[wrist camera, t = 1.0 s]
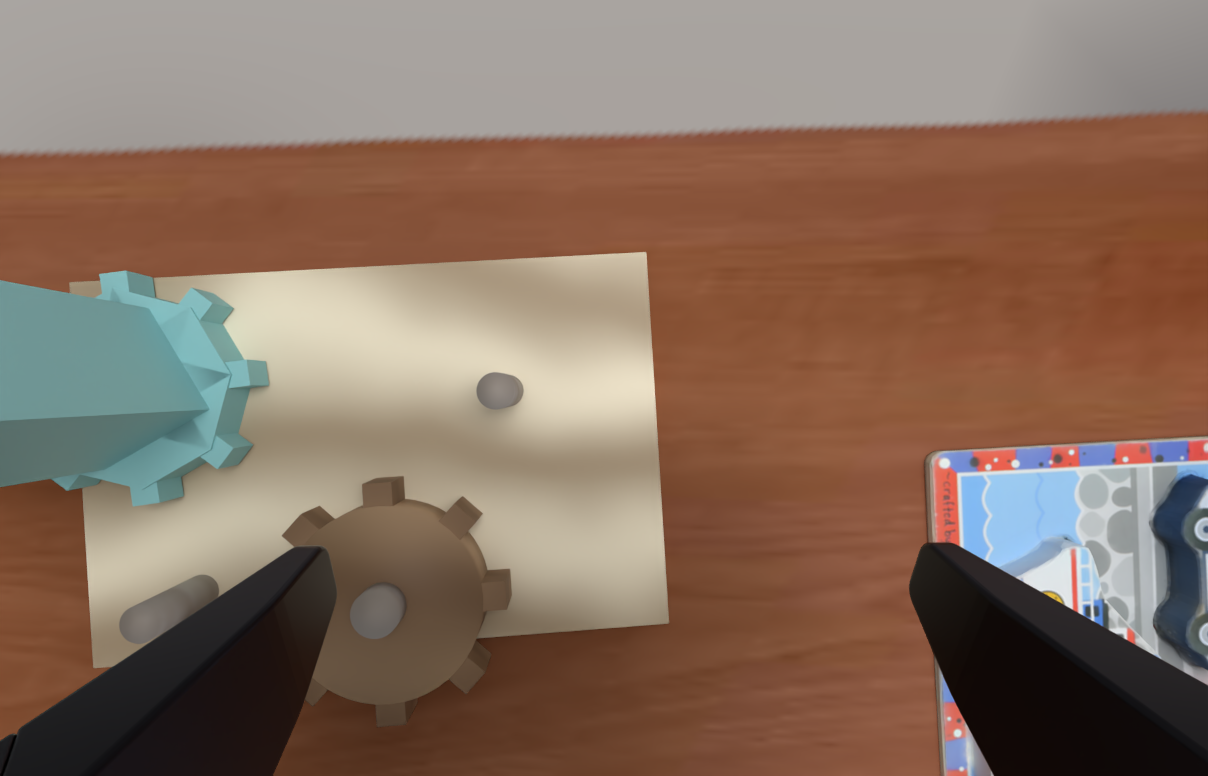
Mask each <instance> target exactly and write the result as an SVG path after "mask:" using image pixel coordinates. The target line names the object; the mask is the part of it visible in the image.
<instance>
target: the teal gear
mask: <svg viewBox="0 0 1208 776" xmlns="http://www.w3.org/2000/svg"><path fill="white" fill-rule="evenodd" d="M99 275H100V282H101V289H102V294H100V295H99V296H97V297H95V298H92V297H86V296H81V295H76V294H70V293H65V292H59V291H54V290H49V289H43V288H38V287H33V286H27V285H22V284H17V283H11V282H6V281H1V280H0V487H4V486H10V485H16V484H22V483H28V482H34V481H40V480H45V479H52V480H53V481H55V482H56V483H57V484H59V485H60V486H61V487H63V488H64V489H66V490H67V491H68V490H73V489H78V488H83V487H88V486H93V485H97V484H98V483H99V482H100V480H105V481H109V482H113V483H117V484H121V485H126V486H130V491H131V498H132V505H133V506H140V505H147V504H154V503H160V502H164V501H168V500H172V499H175V498H179V497H183V496H184V494H183V487H182V480H181V477H182V476H184V475H185V474H187V473H189V472H191V471H192V470H194V469H196V468H198V467H199V466H201V465H203V464H204V463H206V462H208V463H209V464H211V465H212V466H214V467H215V468H216V469H221V468H225V467H230V466H234V465H238V464H239V463H240V462H241V460H242V459H243V458H244V456H245V455H246V454H247V453H248V451H249V450H250V449H251V447H252V446H253V444H252V443H250V442H249V441H247V440H246V439H245V438H243V437H242V436H241V435H239V434H238V433H239V430H240V426H241V422H242V418H243V414H244V411H245V407H246V403H247V399H248V396H249V392H250V388H255V387H262V386H269V381H268V374H267V367H266V361H258V360H247V359H246V360H244V358H243V357H242V355H241V353H240V352H239V350H238V348H237V347H236V345H235V343H234V342H233V340H232V338H231V337H230V335H229V333H228V332H227V330H226V328H225V327H224V325H223V322H224V320H225V319H226V318H227V316H228V315H229V314H230V313H231V311H232V310H233V309H234V308H233V307H231V306H230V305H229V304H227V303H226V302H225V301H223V300H222V299H221V298H219V297H218V296H217V295H215V294H214V293H211V292H207V291H203V290H199V289H195V288H190V290H189V291H188V292H187V294H186V295H185V296H184V297H183V299H182V300H181V301H180V303H175V302H171V301H168V300H164V299H160V298H156V297H155V292H154V285H153V278H152V277H149V276H145V275H141V274H137V273H133V272H129V271H120V272H112V273H105V274H99Z"/></svg>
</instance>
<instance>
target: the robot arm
mask: <svg viewBox="0 0 1208 776" xmlns="http://www.w3.org/2000/svg"><path fill="white" fill-rule="evenodd" d="M909 592H910V597H911V600H912V603H913V605H914V608H915V610H916V612H917V615H918V617H919V620H920V622H921V624H922V627H923V629H924V632H925V634H926V637H927V639H928V641H929V644H930V646H931V649H932V651H933V653H934V656H935V658H936V661H937V663H938V665H939V668H940V670H941V673H942V675H943V678H944V680H945V682H946V684H947V687H948V689H949V691H950V693H951V695H952V697H953V699H954V701H955V703H956V705H957V707H958V709H959V711H960V713H961V715H962V717H963V719H964V721H965V723H966V725H967V726H968V728H969V730H970V732H971V734H972V736H973V738H974V740H975V741H976V743H977V745H978V747H979V749H980V751H981V753H982V755H983V757H984V758H985V760H986V762H987V764H988V766H989V768H990V770H991V772H992V773H993V775H994V776H1208V685H1207V684H1205V683H1203V682H1201V681H1200V680H1198V679H1196V678H1194V677H1192V676H1191V675H1189V674H1187V673H1185V672H1183V671H1182V670H1180V669H1178V668H1176V667H1175V666H1173V665H1171V664H1169V663H1167V662H1166V661H1164V660H1162V659H1160V658H1158V657H1157V656H1155V655H1153V654H1151V653H1150V652H1148V651H1146V650H1144V649H1142V648H1141V647H1139V646H1137V645H1135V644H1133V643H1132V642H1130V641H1128V640H1126V639H1124V638H1123V637H1121V636H1119V635H1117V634H1116V633H1114V632H1112V631H1110V630H1108V629H1107V628H1105V627H1103V626H1101V625H1099V624H1098V623H1096V622H1094V621H1092V620H1091V619H1089V618H1087V617H1085V616H1083V615H1082V614H1080V613H1078V612H1076V611H1074V610H1073V609H1071V608H1069V607H1067V606H1066V605H1064V604H1062V603H1060V602H1058V601H1057V600H1055V599H1053V598H1051V597H1049V596H1048V595H1046V594H1044V593H1042V592H1041V591H1039V590H1037V589H1035V588H1033V587H1032V586H1030V585H1028V584H1026V583H1024V582H1023V581H1021V580H1019V579H1017V578H1016V577H1014V576H1012V575H1010V574H1008V573H1007V572H1005V571H1003V570H1001V569H1000V568H998V567H996V566H994V565H992V564H991V563H989V562H987V561H985V560H983V559H982V558H980V557H978V556H976V555H975V554H973V553H971V552H969V551H967V550H966V549H964V548H962V547H960V546H958V545H957V544H954V543H950V542H929V543H926V544H924V545H923V546H922V547H921V549H920V551H919V554H918V558H917V561H916V564H915V567H914V570H913V573H912V576H911V579H910V584H909ZM336 599H337V586H336V582H335V577H334V573H333V569H332V564H331V560H330V556H329V552H328V550H327V549H326V548H325V547H324V546H321V545H301V546H296V547H293V548H292V549H290V550H288V551H287V552H285V553H284V554H282V555H281V556H279V557H278V558H276V559H275V560H273V561H272V562H270V563H269V564H267V565H266V566H264V567H263V568H261V569H260V570H258V571H257V572H255V573H254V574H252V575H251V576H249V577H248V578H246V579H245V580H243V581H242V582H240V583H239V584H237V585H236V586H234V587H232V588H231V589H229V590H228V591H226V592H225V593H223V594H222V595H220V596H219V597H217V598H216V599H214V600H213V601H211V602H210V603H208V604H207V605H205V606H204V607H202V608H201V609H199V610H198V611H196V612H195V613H193V614H192V615H190V616H189V617H187V618H186V619H184V620H183V621H181V622H180V623H178V624H177V625H175V626H174V627H172V628H170V629H169V630H167V631H166V632H164V633H163V634H161V635H160V636H158V637H157V638H155V639H154V640H152V641H151V642H149V643H148V644H146V645H145V646H143V647H142V648H140V649H139V650H137V651H136V652H134V653H133V654H131V655H130V656H128V657H127V658H125V659H124V660H122V661H121V662H119V663H118V664H116V665H115V666H113V667H112V668H110V669H108V670H107V671H105V672H104V673H102V674H101V675H99V676H98V677H96V678H95V679H93V680H92V681H90V682H89V683H87V684H86V685H84V686H83V687H81V688H80V689H78V690H77V691H75V692H74V693H72V694H71V695H69V696H68V697H66V698H65V699H63V700H62V701H60V702H59V703H57V704H55V705H54V706H52V707H51V708H49V709H48V710H46V711H45V712H43V713H42V714H40V715H39V716H37V717H36V718H34V719H33V720H31V721H30V722H28V723H27V724H25V725H24V726H22V727H21V728H20V729H19V730H18V732H17V734H10V735H8V736H7V737H5V738H4V739H2V740H1V741H0V776H273V774H274V772H275V769H276V767H277V765H278V763H279V760H280V758H281V756H282V753H283V751H284V749H285V747H286V744H287V742H288V740H289V737H290V735H291V733H292V730H293V728H294V726H295V724H296V721H297V719H298V716H299V714H300V711H301V709H302V706H303V704H304V701H305V698H306V695H307V692H308V689H309V686H310V683H311V680H312V677H313V673H314V670H315V667H316V664H317V661H318V658H319V655H320V651H321V648H322V645H323V642H324V639H325V636H326V632H327V629H328V626H329V623H330V620H331V617H332V614H333V610H334V607H335V604H336Z"/></svg>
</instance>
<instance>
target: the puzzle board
mask: <svg viewBox="0 0 1208 776" xmlns="http://www.w3.org/2000/svg"><path fill="white" fill-rule="evenodd" d="M924 465H925V488H926V510H927V530H928V543H929V542H950V543H954V544H957V545H958V546H960V547H962V548H964V549H966V550H967V551H969V552H971V553H973V554H975V555H976V556H978V557H980V558H982V559H983V560H985V561H987V562H989V563H991V564H992V565H994V566H996V567H998V568H1000V569H1001V570H1003V571H1005V572H1007V573H1008V574H1010V575H1012V576H1014V577H1016V578H1017V579H1019V580H1021V581H1023V582H1024V583H1026V584H1028V585H1030V586H1032V587H1033V588H1035V589H1037V590H1039V591H1041V592H1042V593H1044V594H1046V595H1048V596H1049V597H1051V598H1053V599H1055V600H1057V601H1058V602H1060V603H1062V604H1064V605H1066V606H1067V607H1069V608H1071V609H1073V610H1074V611H1076V612H1078V613H1080V614H1082V615H1083V616H1085V617H1087V618H1089V619H1091V620H1092V621H1094V622H1096V623H1098V624H1099V625H1101V626H1103V627H1105V628H1107V629H1108V630H1110V631H1112V632H1114V633H1116V634H1117V635H1119V636H1121V637H1123V638H1124V639H1126V640H1128V641H1130V642H1132V643H1133V644H1135V645H1137V646H1139V647H1141V648H1142V649H1144V650H1146V651H1148V652H1150V653H1151V654H1153V655H1155V656H1157V657H1158V658H1160V659H1162V660H1164V661H1166V662H1167V663H1169V664H1171V665H1173V666H1175V667H1176V668H1178V669H1180V670H1182V671H1183V672H1185V673H1187V674H1189V675H1191V676H1192V677H1194V678H1196V679H1198V680H1200V681H1201V682H1203V683H1205V684H1207V685H1208V436H1189V437H1171V438H1153V439H1135V440H1118V441H1100V442H1082V443H1065V444H1047V445H1030V446H1012V447H995V448H978V449H961V450H944V451H934V452H931V453H930V454H929V455H927V456H926V458H925V462H924ZM934 660H935V678H936V697H937V715H938V733H939V752H940V770H941V776H994V775H993V773H992V772H991V770H990V768H989V766H988V764H987V762H986V760H985V758H984V757H983V755H982V753H981V751H980V749H979V747H978V745H977V743H976V741H975V740H974V738H973V736H972V734H971V732H970V730H969V728H968V726H967V725H966V723H965V721H964V719H963V717H962V715H961V713H960V711H959V709H958V707H957V705H956V703H955V701H954V699H953V697H952V695H951V693H950V691H949V689H948V687H947V684H946V682H945V680H944V678H943V675H942V673H941V670H940V668H939V665H938V663H937V661H936V658H935V656H934Z"/></svg>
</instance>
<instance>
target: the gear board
mask: <svg viewBox="0 0 1208 776" xmlns="http://www.w3.org/2000/svg"><path fill="white" fill-rule="evenodd" d="M69 283H70V294H76V295H81V296H86V297H92V298H95V297H97V296H99V295H100V294H102V289H101V282H100V281H87V282H69ZM153 285H154V292H155V297H156V298H160V299H164V300H168V301H171V302H175V303H180V301H181V300H182V299H183V297H184V296H185V295H186V294H187V292H188V291H189V290H190V288H195V289H199V290H203V291H207V292H211V293H214V294H215V295H217V296H218V297H219V298H221V299H222V300H223V301H225V302H226V303H227V304H229V305H230V306H231V307H233V308H234V309H233V310H232V311H231V313H230V314H229V315H228V316H227V318H226V319H225V320H224V322H223V325H224V327H225V328H226V330H227V332H228V333H229V335H230V337H231V338H232V340H233V342H234V343H235V345H236V347H237V348H238V350H239V352H240V353H241V355H242V357H243V358H244V360H246V359H247V360H258V361H266V367H267V374H268V381H269V386H262V387H255V388H250V392H249V396H248V399H247V403H246V407H245V411H244V414H243V418H242V422H241V426H240V430H239V433H238V434H239V435H241V436H242V437H243V438H245V439H246V440H247V441H249V442H250V443H252V444H253V446H252V447H251V449H250V450H249V451H248V453H247V454H246V455H245V456H244V458H243V459H242V460H241V462H240V463H239V464H238V465H234V466H230V467H225V468H221V469H216V468H215V467H214V466H212V465H211V464H209V463H208V462H206V463H204V464H203V465H201V466H199V467H198V468H196V469H194V470H192V471H191V472H189V473H187V474H185V475H184V476H182V477H181V480H182V487H183V494H184V496H183V497H179V498H175V499H172V500H168V501H164V502H160V503H154V504H147V505H140V506H133V505H132V498H131V491H130V486H126V485H121V484H117V483H113V482H109V481H105V480H100V482H99V483H98V484H97V485H93V486H88V487H83V488H82V493H83V509H84V525H85V541H86V557H87V573H88V589H89V606H90V622H91V638H92V654H93V668H102V667H113V666H115V665H116V664H118V663H119V662H121V661H122V660H124V659H125V658H127V657H128V656H130V655H131V654H133V653H134V652H136V651H137V650H139V649H140V648H142V647H143V646H145V645H146V644H148V643H149V642H151V641H152V640H154V639H155V638H157V637H158V636H160V635H161V634H163V633H164V632H166V631H167V630H169V629H170V628H172V627H174V626H175V625H177V624H178V623H180V622H181V621H183V620H184V619H186V618H187V617H189V616H190V615H192V614H193V613H195V612H196V611H198V610H199V609H201V608H202V607H204V606H205V605H207V604H208V603H210V602H211V601H213V600H214V599H216V598H217V597H219V596H220V595H222V594H223V593H225V592H226V591H228V590H229V589H231V588H232V587H234V586H236V585H237V584H239V583H240V582H242V581H243V580H245V579H246V578H248V577H249V576H251V575H252V574H254V573H255V572H257V571H258V570H260V569H261V568H263V567H264V566H266V565H267V564H269V563H270V562H272V561H273V560H275V559H276V558H278V557H279V556H281V555H282V554H284V553H285V552H287V551H288V550H290V549H292V548H293V547H296V546H301V545H321V546H324V547H325V548H326V549H327V550H328V552H329V556H330V560H331V564H332V569H333V573H334V577H335V582H336V586H337V599H336V604H335V607H334V610H333V614H332V617H331V620H330V623H329V626H328V629H327V632H326V636H325V639H324V642H323V645H322V648H321V651H320V655H319V658H318V661H317V664H316V667H315V670H314V673H313V677H312V680H311V683H310V686H309V689H308V692H307V695H306V698H305V700H306V701H307V702H308V703H309V704H310V705H311V706H314V705H315V704H316V703H317V702H318V701H319V699H320V698H321V697H322V696H323V695H324V694H325V693H326V691H327V690H330V691H331V692H333V693H335V694H337V695H339V696H341V697H344V698H346V699H349V700H352V701H356V702H360V703H366V704H375V705H376V722H377V727H384V726H396V725H406V724H407V722H408V720H409V718H410V716H411V714H412V713H413V711H414V709H415V707H416V705H417V703H418V700H417V698H418V697H420V696H423V695H425V694H427V693H429V692H431V691H432V690H434V689H436V688H438V687H439V686H440V685H442V684H443V683H444V682H445V681H447V680H448V679H449V680H450V681H451V682H452V683H454V684H455V685H456V686H457V687H458V688H459V689H461V690H462V691H463V692H464V693H465V694H467V693H468V692H469V690H470V689H471V688H472V687H473V686H474V685H475V684H476V683H477V681H478V680H479V679H480V678H481V677H482V676H483V675H484V673H485V672H486V669H487V666H488V663H489V660H490V657H491V653H490V652H489V651H488V650H487V649H485V648H484V647H483V646H482V645H481V644H480V643H479V642H477V641H476V638H489V637H502V636H514V635H527V634H540V633H553V632H566V631H579V630H592V629H605V628H617V627H630V626H643V625H656V624H669V615H668V599H667V583H666V567H665V550H664V534H663V518H662V501H661V485H660V469H659V453H658V436H657V420H656V404H655V387H654V371H653V355H652V339H651V322H650V306H649V290H648V273H647V257H646V252H639V253H620V254H601V255H582V256H563V257H544V258H525V259H506V260H487V261H468V262H449V263H430V264H411V265H392V266H373V267H354V268H335V269H316V270H297V271H278V272H259V273H240V274H220V275H201V276H182V277H163V278H153Z"/></svg>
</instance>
